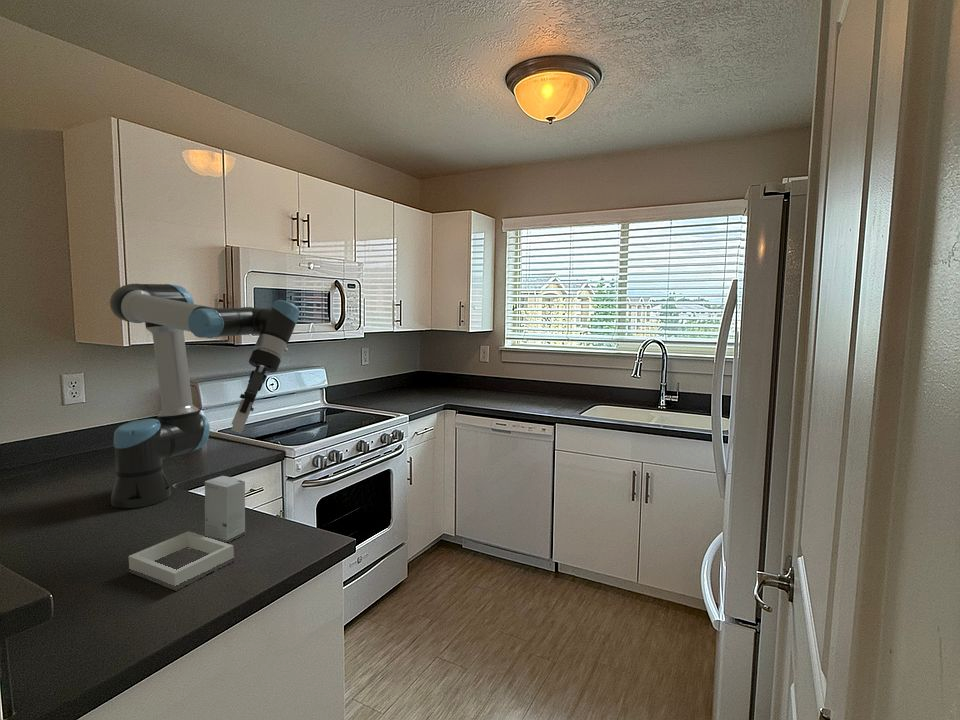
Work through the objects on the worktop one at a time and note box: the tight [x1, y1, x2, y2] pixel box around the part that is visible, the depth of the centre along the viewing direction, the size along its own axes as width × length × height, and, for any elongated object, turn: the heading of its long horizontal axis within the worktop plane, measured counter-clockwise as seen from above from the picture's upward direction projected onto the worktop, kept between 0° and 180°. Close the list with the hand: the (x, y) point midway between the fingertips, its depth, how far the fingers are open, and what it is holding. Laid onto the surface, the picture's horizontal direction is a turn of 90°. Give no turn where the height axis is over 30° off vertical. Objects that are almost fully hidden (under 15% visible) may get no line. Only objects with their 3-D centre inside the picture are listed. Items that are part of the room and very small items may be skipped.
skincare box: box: [204, 475, 246, 541], centre depth 133 cm, size 8×6×15 cm
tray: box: [128, 530, 235, 586], centre depth 118 cm, size 16×14×4 cm
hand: (236, 429), depth 134 cm, fingers open, 13 cm apart
